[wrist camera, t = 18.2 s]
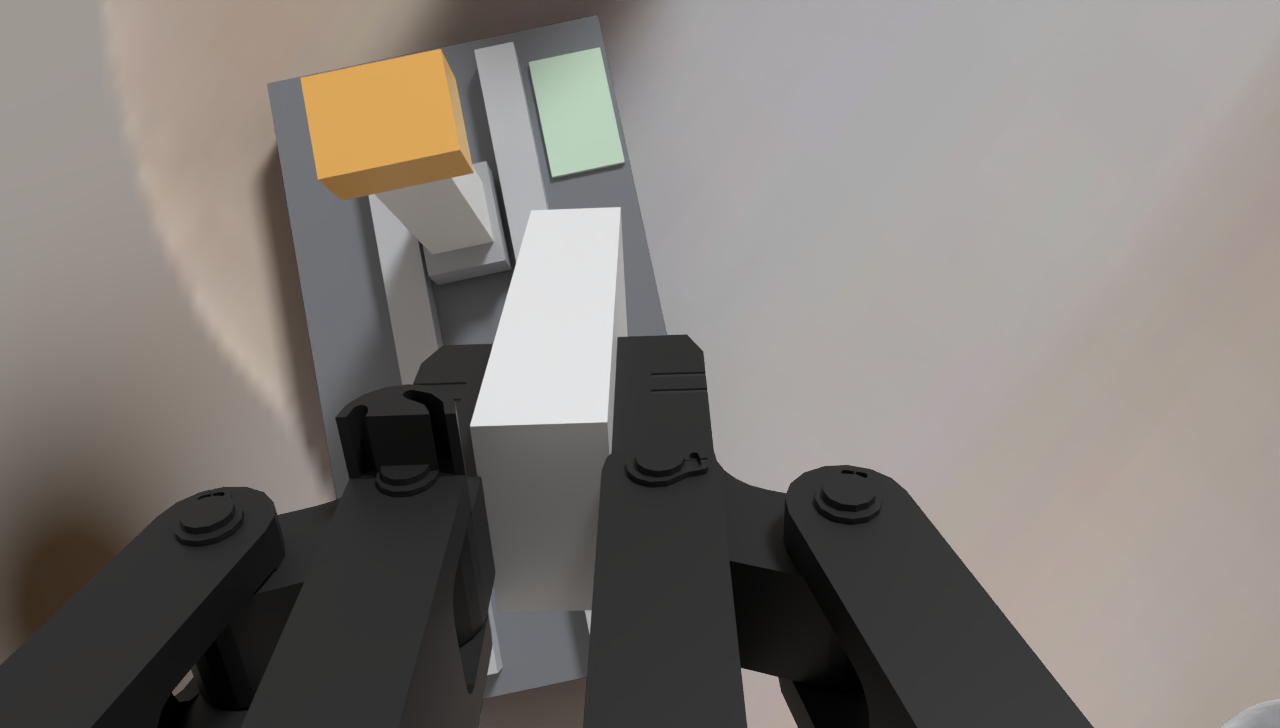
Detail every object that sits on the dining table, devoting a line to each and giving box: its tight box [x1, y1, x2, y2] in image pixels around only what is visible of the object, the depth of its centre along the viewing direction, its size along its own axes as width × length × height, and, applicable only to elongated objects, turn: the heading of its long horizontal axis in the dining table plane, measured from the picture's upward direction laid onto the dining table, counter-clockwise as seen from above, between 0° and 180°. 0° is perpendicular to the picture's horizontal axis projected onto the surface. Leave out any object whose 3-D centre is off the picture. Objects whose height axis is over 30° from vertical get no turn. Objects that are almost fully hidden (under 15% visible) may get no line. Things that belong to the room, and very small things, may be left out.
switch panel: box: [267, 15, 667, 699], centre depth 40 cm, size 26×14×4 cm, turn 12°
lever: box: [300, 49, 512, 285], centre depth 33 cm, size 4×4×12 cm
